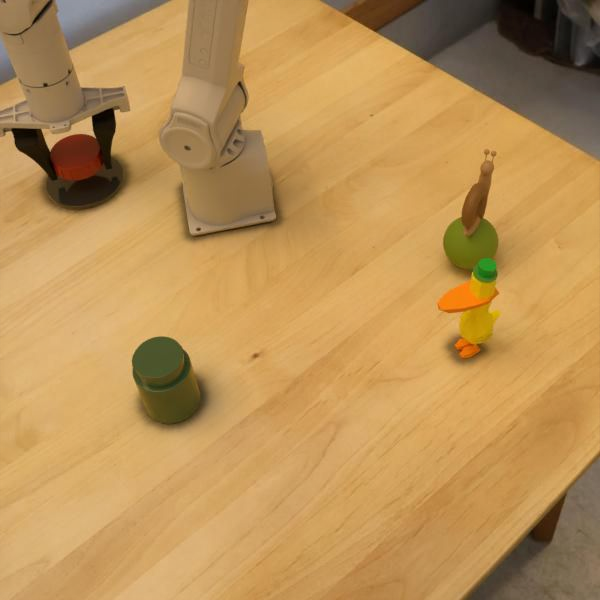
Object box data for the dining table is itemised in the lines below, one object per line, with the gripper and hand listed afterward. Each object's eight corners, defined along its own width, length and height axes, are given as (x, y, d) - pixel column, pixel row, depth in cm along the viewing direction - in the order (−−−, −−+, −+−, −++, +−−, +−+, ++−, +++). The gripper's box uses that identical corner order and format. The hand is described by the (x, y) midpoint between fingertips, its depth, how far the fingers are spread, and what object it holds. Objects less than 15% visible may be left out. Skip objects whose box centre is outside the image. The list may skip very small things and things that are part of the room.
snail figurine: (504, 242, 89) (519, 155, 80) (486, 286, 85) (499, 201, 76) (454, 228, 91) (463, 142, 81) (434, 271, 87) (441, 186, 78)
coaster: (121, 149, 102) (120, 146, 102) (126, 201, 97) (125, 198, 96) (46, 163, 102) (45, 159, 101) (47, 216, 96) (45, 212, 96)
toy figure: (442, 375, 79) (451, 295, 70) (425, 347, 81) (431, 265, 72) (506, 351, 81) (524, 268, 71) (487, 323, 83) (502, 240, 73)
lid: (68, 142, 99) (63, 130, 98) (113, 150, 98) (109, 137, 96) (45, 176, 96) (40, 163, 94) (91, 184, 95) (86, 172, 93)
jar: (196, 371, 82) (183, 326, 76) (204, 416, 78) (191, 374, 73) (142, 383, 81) (125, 339, 76) (148, 429, 78) (131, 387, 72)
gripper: (-27, 108, 84) (18, 206, 94) (119, 79, 85) (147, 179, 96) (-27, 66, 88) (17, 164, 99) (113, 39, 89) (141, 139, 100)
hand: (81, 169), depth 98 cm, fingers closed on lid, 6 cm apart
